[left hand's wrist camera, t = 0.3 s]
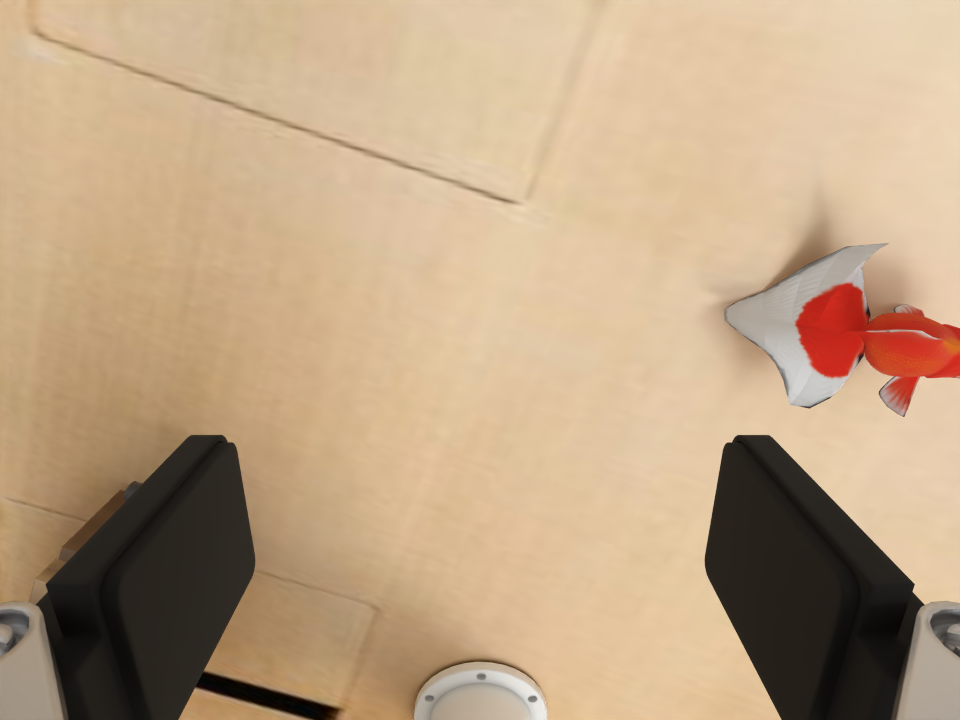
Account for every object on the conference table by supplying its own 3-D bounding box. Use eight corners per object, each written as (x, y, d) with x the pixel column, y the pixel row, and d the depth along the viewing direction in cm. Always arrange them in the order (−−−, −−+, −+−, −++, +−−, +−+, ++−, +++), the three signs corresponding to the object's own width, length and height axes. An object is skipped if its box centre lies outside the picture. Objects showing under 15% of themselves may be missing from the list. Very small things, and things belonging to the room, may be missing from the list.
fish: (897, 472, 41) (981, 479, 31) (689, 366, 45) (707, 345, 36) (971, 339, 41) (1077, 306, 32) (757, 246, 45) (792, 193, 36)
